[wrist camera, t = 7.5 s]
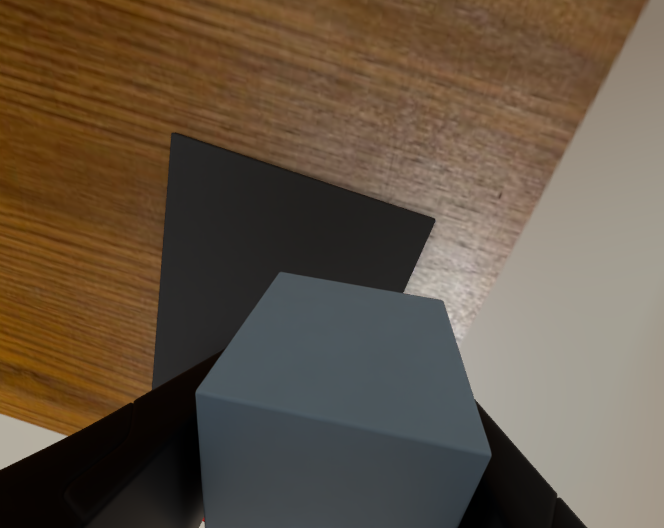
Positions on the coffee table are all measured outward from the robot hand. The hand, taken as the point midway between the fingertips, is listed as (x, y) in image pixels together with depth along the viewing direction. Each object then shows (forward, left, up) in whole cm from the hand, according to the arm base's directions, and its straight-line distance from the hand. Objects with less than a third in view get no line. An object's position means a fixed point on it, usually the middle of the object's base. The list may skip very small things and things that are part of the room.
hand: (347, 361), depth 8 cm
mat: (+6, +10, -12) cm, 17 cm away
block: (0, 0, 0) cm, 0 cm away
